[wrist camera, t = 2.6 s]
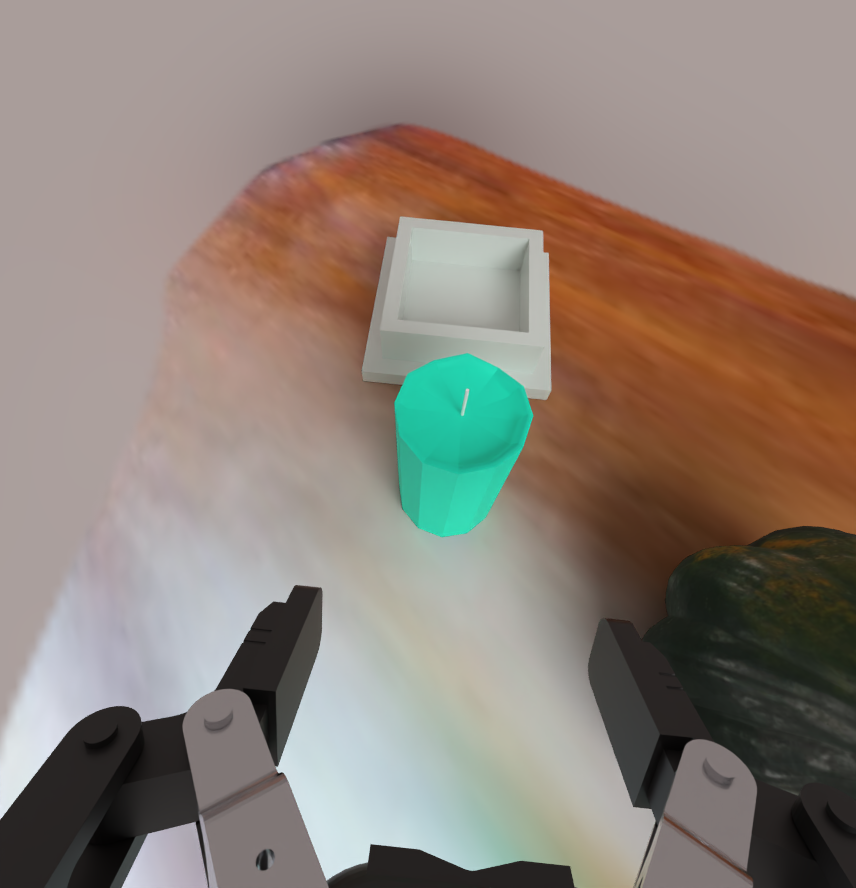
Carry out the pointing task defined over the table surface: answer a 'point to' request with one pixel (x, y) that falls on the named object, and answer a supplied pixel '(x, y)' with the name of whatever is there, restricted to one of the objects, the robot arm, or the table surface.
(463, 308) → the candle stand
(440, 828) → the table surface
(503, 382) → the candle
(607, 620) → the robot arm
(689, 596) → the squash
